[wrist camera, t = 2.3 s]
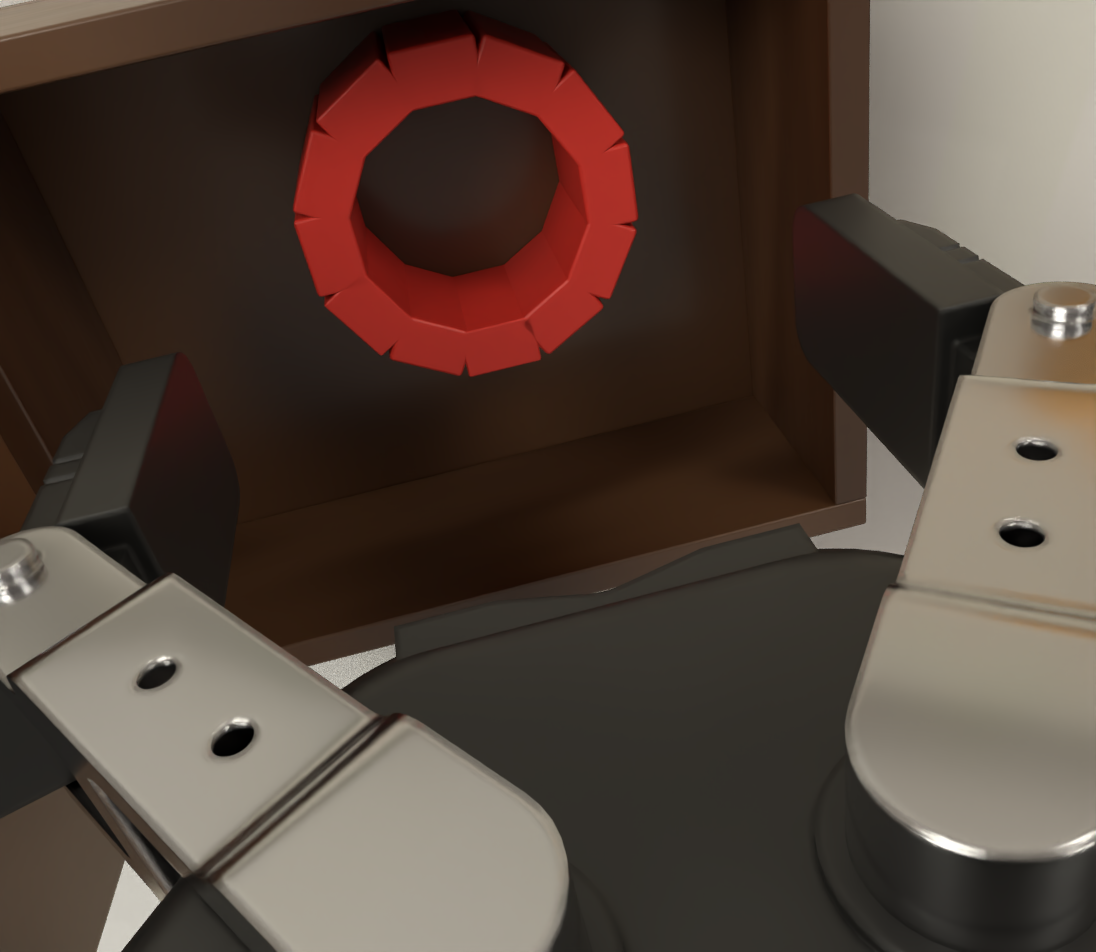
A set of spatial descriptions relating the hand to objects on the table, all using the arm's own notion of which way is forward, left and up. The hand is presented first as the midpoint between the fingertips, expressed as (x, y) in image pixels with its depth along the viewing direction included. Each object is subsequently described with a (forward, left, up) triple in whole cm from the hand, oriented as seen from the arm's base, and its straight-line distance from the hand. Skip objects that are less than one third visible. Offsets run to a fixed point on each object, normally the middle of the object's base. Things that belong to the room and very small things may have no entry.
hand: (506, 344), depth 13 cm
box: (-1, +2, -10) cm, 10 cm away
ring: (0, 0, -9) cm, 9 cm away
